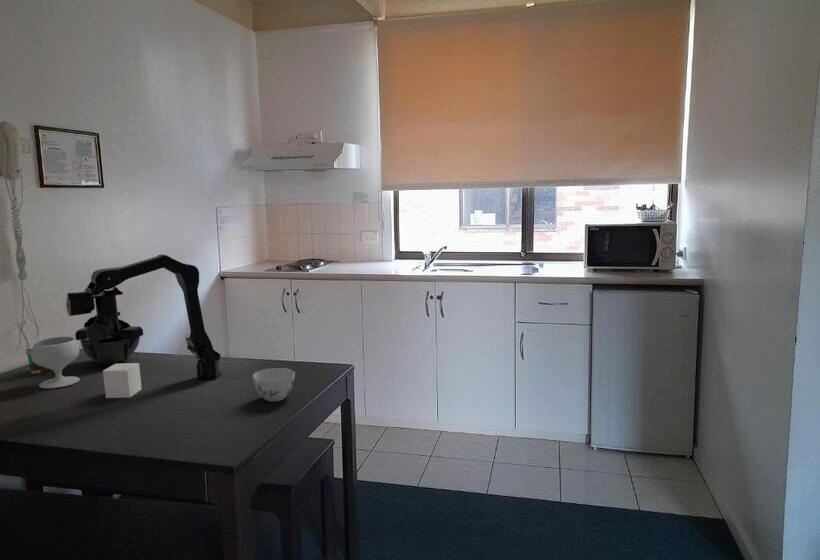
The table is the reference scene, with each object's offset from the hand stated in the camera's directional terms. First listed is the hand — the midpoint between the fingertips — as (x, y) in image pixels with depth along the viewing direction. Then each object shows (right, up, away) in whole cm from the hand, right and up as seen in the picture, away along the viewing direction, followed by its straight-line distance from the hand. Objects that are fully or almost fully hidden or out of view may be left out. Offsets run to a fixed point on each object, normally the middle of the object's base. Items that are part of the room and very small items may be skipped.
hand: (112, 360), depth 183 cm
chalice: (-27, -11, +19) cm, 35 cm away
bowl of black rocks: (-21, -7, +42) cm, 48 cm away
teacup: (+51, -12, -1) cm, 53 cm away
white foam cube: (0, -12, +7) cm, 13 cm away
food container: (-40, -9, +34) cm, 53 cm away
